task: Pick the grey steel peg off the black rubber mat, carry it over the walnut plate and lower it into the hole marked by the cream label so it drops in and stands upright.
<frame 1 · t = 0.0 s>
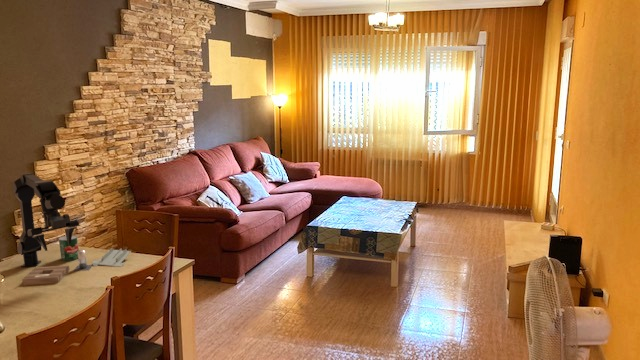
hand: (58, 248, 212), 15 cm above the table, tool pointing down, fingers open, 9 cm apart
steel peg: (83, 267, 231), resting on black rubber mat
walnut hole plate: (47, 278, 220), on the table
metal bracket: (114, 262, 239), on the table, touching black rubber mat
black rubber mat: (83, 268, 231), on the table
canned tomato: (70, 259, 243), on the table
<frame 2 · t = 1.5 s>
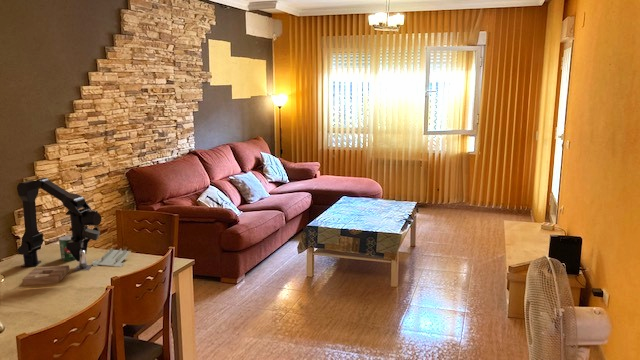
hand: (81, 257, 230), 5 cm above the table, tool pointing down, fingers open, 9 cm apart
nothing on the table moved.
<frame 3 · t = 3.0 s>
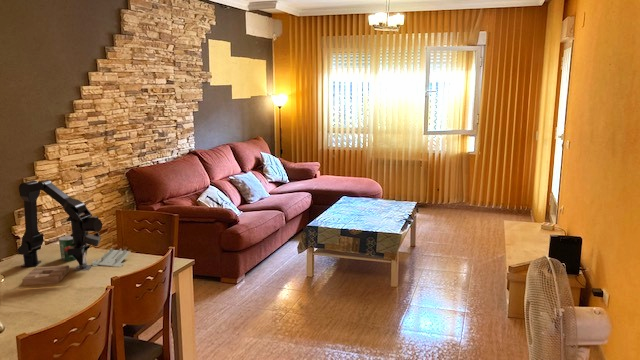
hand: (82, 263, 230), 3 cm above the table, tool pointing down, fingers closed on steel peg, 3 cm apart
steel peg: (83, 267, 231), resting on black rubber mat, touching gripper
everything else where it was.
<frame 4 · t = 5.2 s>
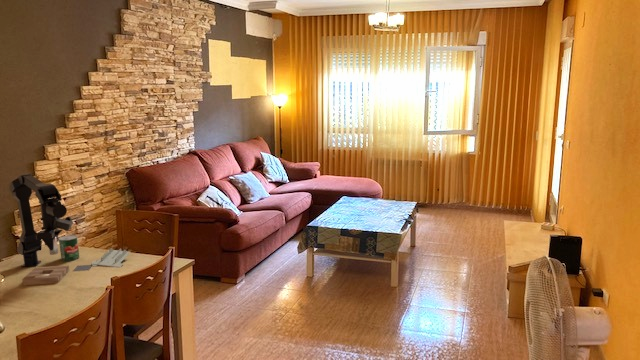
hand: (53, 249, 220), 12 cm above the table, tool pointing down, fingers closed on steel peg, 3 cm apart
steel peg: (54, 253, 221), point 10 cm above the table, touching gripper
everything else where it was.
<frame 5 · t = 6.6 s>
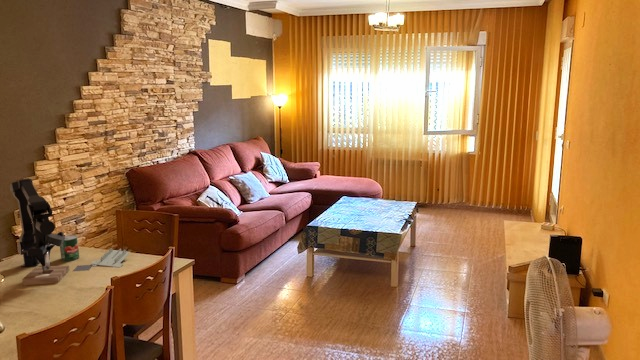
hand: (45, 264, 219), 6 cm above the table, tool pointing down, fingers closed on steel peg, 3 cm apart
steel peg: (46, 268, 219), point 4 cm above the table, touching gripper
everything else where it was.
when the fingers open (4 cm above the table, at t = 7.7 s): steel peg drops 2 cm, resting in walnut hole plate.
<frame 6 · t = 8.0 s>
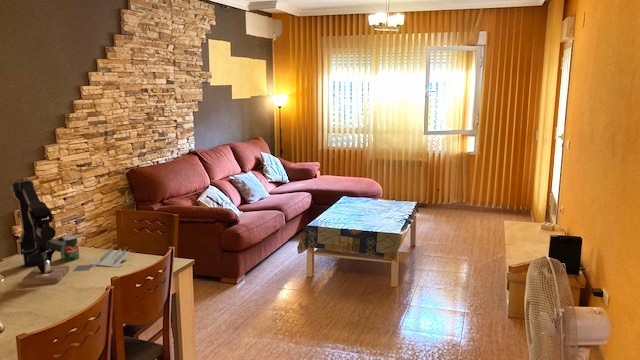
hand: (46, 269, 219), 4 cm above the table, tool pointing down, fingers open, 6 cm apart
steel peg: (47, 278, 220), resting in walnut hole plate
everything else where it was.
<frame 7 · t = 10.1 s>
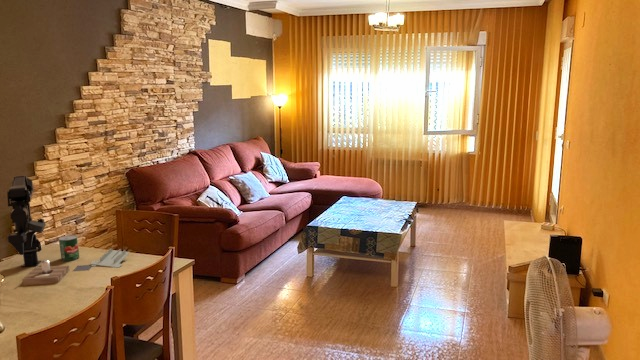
hand: (25, 251, 220), 12 cm above the table, tool pointing down, fingers open, 9 cm apart
nothing on the table moved.
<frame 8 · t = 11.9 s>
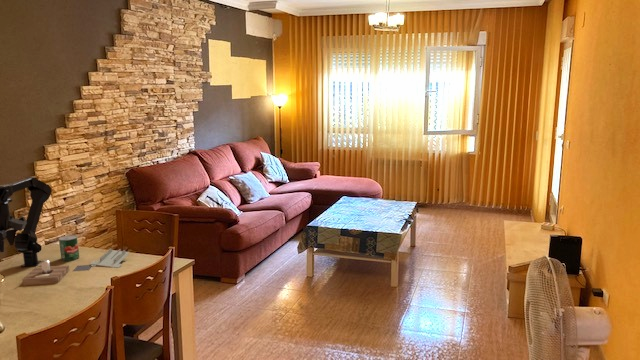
hand: (7, 248, 223), 12 cm above the table, tool pointing down, fingers open, 9 cm apart
at the end: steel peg 0.0 cm off-centre on the walnut hole plate, point 0.0 cm above the walnut hole plate's base; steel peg tilted 0°; the gripper is holding nothing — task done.
